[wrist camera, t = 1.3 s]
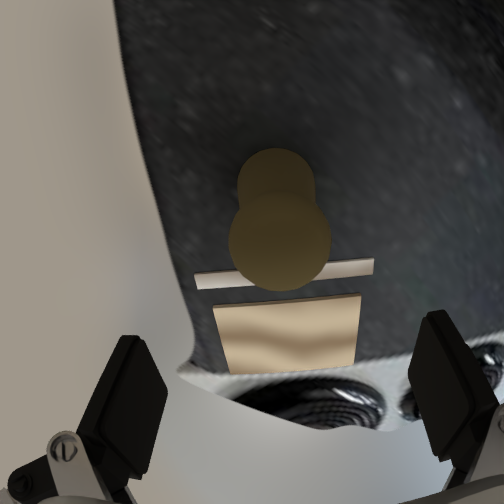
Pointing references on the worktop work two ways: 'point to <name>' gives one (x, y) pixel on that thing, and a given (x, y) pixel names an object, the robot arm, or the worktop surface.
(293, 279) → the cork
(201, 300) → the worktop surface
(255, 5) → the worktop surface
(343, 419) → the worktop surface
